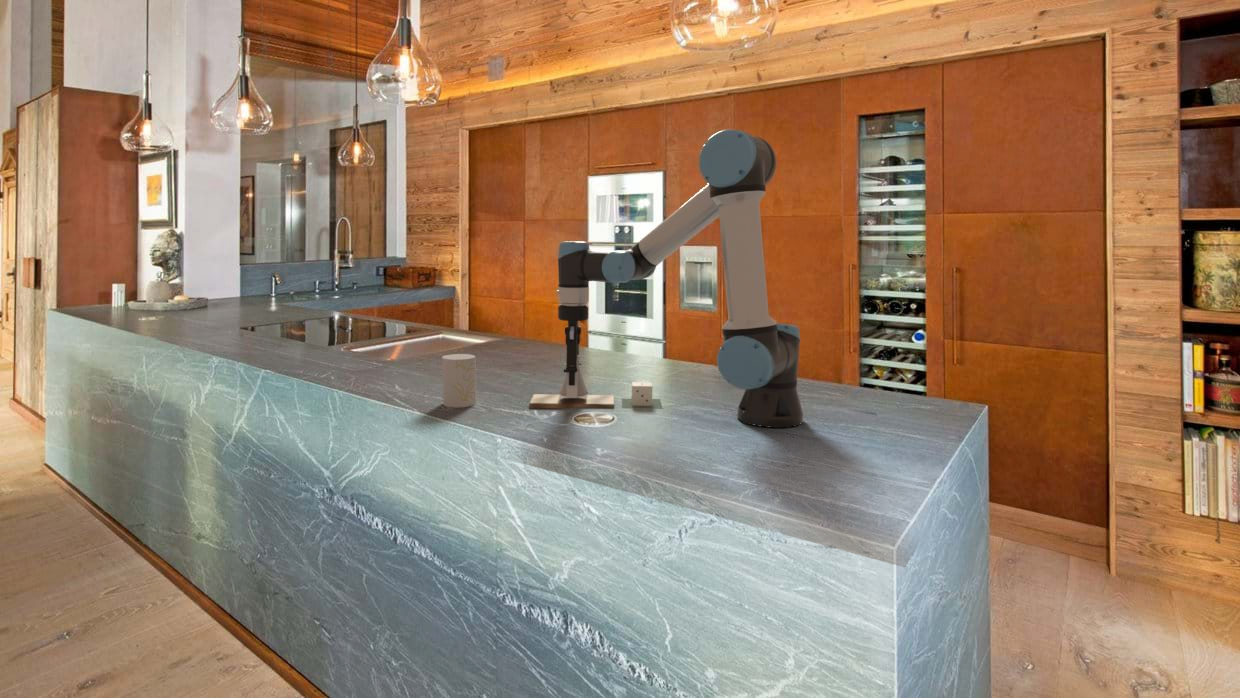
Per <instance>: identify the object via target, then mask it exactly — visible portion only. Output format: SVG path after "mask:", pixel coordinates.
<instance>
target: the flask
mask: <svg viewBox="0 0 1240 698" xmlns="http://www.w3.org/2000/svg"><path fill="white" fill-rule="evenodd" d="M580 358H581V355H580V354H579V355H577V372H578V385H577V397H580V396H585V395H589V393H588V389H587V387H586V384H585V381H584V379H583V376H582V375H583V374H582V372H581V368H580V365H579V362H580ZM559 395H562V396H566V376H565V377H564V380H563V383H562V385H561V389H560V390H559Z"/></svg>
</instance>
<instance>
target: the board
mask: <svg viewBox="0 0 1240 698" xmlns="http://www.w3.org/2000/svg"><path fill="white" fill-rule="evenodd" d="M528 408H529V409H563V408H573V409H574V408H575V409H577V408H586V409H587V408H589V409H590V408H592V409H598V408H601V409H614V408H615V396H614V395H613V394H612V395H611V394H608V395H607V394H587V395H585V396H580V397H577V398H566V396H562V395H561V394H549V393H548V394H542V393H541V394H540V393H536V394H535V393H534V394H533V396H532V398H531V399H530V401H529V405H528Z"/></svg>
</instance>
